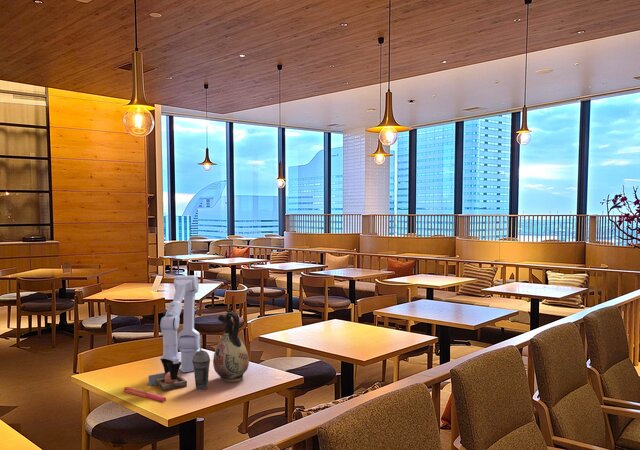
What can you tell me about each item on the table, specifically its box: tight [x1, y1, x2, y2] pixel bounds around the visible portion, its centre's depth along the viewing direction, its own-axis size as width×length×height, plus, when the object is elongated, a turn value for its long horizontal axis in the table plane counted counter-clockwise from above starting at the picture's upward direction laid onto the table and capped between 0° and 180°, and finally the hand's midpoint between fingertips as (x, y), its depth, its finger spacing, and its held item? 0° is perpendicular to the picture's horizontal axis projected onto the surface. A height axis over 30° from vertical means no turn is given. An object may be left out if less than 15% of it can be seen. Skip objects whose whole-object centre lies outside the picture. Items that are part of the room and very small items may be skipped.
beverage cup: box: [192, 338, 211, 391], centre depth 201 cm, size 7×7×20 cm
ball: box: [164, 372, 177, 384], centre depth 205 cm, size 5×5×5 cm
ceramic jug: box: [212, 311, 250, 383], centre depth 212 cm, size 17×15×30 cm
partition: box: [147, 371, 166, 387], centre depth 210 cm, size 12×3×4 cm, turn 124°
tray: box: [155, 374, 188, 392], centre depth 206 cm, size 10×10×2 cm
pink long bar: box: [123, 386, 167, 403], centre depth 194 cm, size 24×2×5 cm
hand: (171, 377), depth 206 cm, fingers open, 7 cm apart
